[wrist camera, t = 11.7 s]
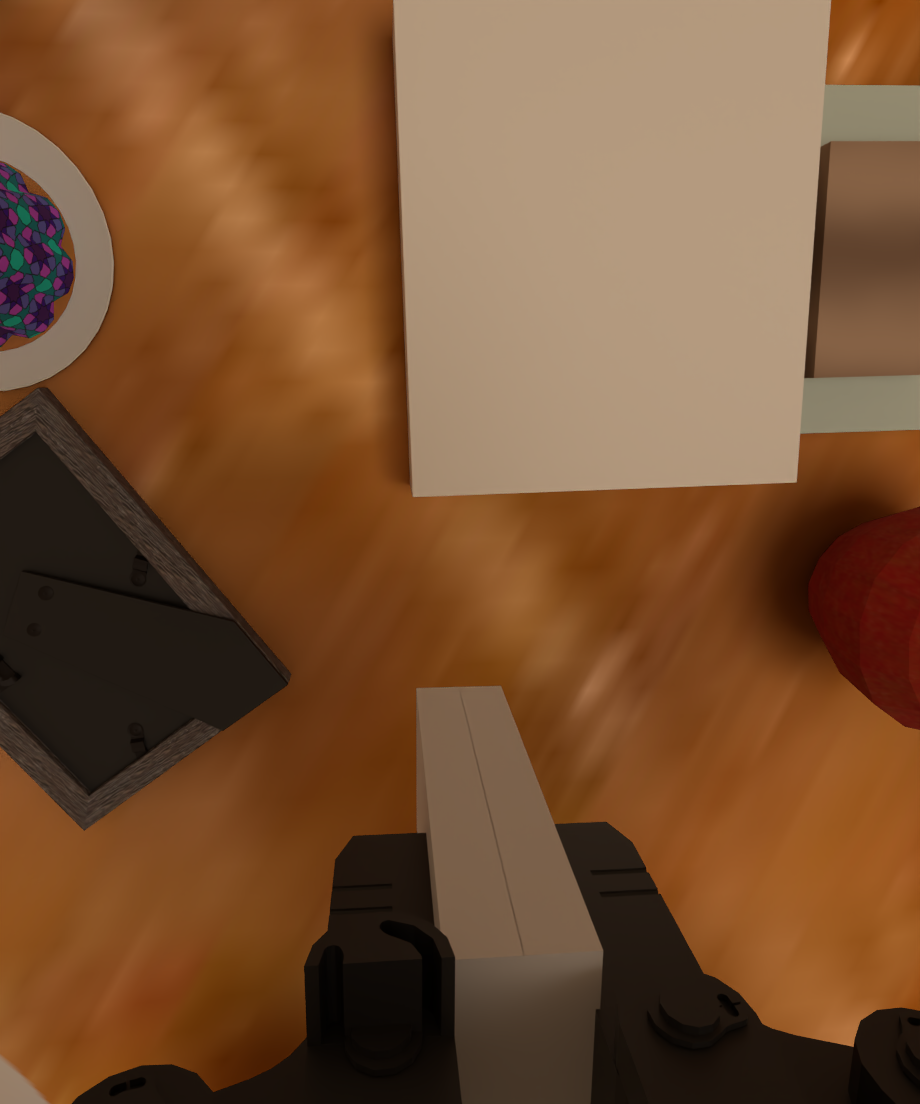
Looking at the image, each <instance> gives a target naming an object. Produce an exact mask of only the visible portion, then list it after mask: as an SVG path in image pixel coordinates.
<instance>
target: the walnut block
mask: <svg viewBox="0 0 920 1104" xmlns="http://www.w3.org/2000/svg"><path fill="white" fill-rule="evenodd" d="M900 375H920V141H830V142H829V143H827V144H825V145H823V146H821V147H820V161H819V175H818V189H817V203H816V217H815V231H814V245H813V259H812V274H811V288H810V302H809V316H808V330H807V344H806V358H805V372H804V378H831V377H865V376H900Z"/></svg>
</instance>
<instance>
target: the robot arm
mask: <svg viewBox="0 0 920 1104" xmlns="http://www.w3.org/2000/svg"><path fill="white" fill-rule="evenodd" d="M416 732H417V833H407V834H385V835H363V836H353V837H352V838H351V840H350V841H349V842H348V844H347V845H346V846H345V848H344V849H343V850H342V852H341V853H340V854H339V855H338V857H337V858H336V859H335V868H334V877H333V889H332V896H331V905H330V915H329V923H328V931H327V932H326V933H325V934H324V935H323V936H322V937H321V938H320V939H319V940H318V941H317V942H316V943H315V944H314V945H313V946H312V948H311V951H310V953H309V956H308V958H307V961H306V963H305V966H304V973H305V999H306V1025H307V1037H306V1039H305V1040H304V1041H303V1042H302V1043H301V1044H300V1045H299V1047H298V1048H297V1049H296V1050H295V1051H294V1052H293V1053H292V1054H291V1055H290V1056H289V1057H287V1058H286V1059H284V1060H283V1061H282V1062H280V1063H279V1064H277V1065H276V1066H275V1067H273V1068H272V1069H270V1070H268V1071H266V1072H264V1073H261V1074H259V1075H257V1076H255V1077H253V1078H251V1079H249V1080H246V1081H243V1082H240V1083H238V1084H235V1085H232V1086H229V1087H227V1088H224V1089H221V1090H218V1091H216V1092H212V1090H211V1089H210V1088H209V1087H208V1086H207V1085H206V1084H205V1082H204V1081H203V1080H202V1079H201V1078H200V1077H199V1076H198V1074H197V1073H194V1072H191V1071H189V1070H186V1069H183V1068H180V1067H178V1066H175V1065H172V1064H171V1065H145V1066H139V1067H136V1068H133V1069H130V1070H127V1071H124V1072H121V1073H118V1074H116V1075H113V1076H110V1077H108V1078H106V1079H105V1080H103V1081H102V1082H100V1083H99V1084H97V1085H95V1086H94V1087H92V1088H91V1089H89V1090H88V1091H86V1092H85V1093H83V1094H82V1095H80V1096H78V1097H77V1098H76V1099H75V1101H74V1102H73V1103H72V1104H920V1011H917V1010H912V1009H907V1008H893V1009H883V1010H876V1011H875V1012H873V1013H872V1014H870V1015H869V1016H867V1017H866V1018H864V1019H863V1020H861V1021H860V1024H859V1027H858V1030H857V1034H856V1037H855V1041H854V1047H851V1046H846V1045H841V1044H836V1043H831V1042H826V1041H821V1040H816V1039H811V1038H806V1037H801V1036H796V1035H792V1034H789V1033H785V1032H782V1031H778V1030H775V1029H772V1028H770V1027H767V1026H765V1025H763V1024H762V1023H761V1021H760V1019H759V1018H758V1016H757V1014H756V1013H755V1012H754V1011H753V1009H752V1008H751V1007H750V1006H749V1005H748V1003H747V1002H746V1001H745V1000H744V999H743V997H742V996H741V995H740V994H739V993H738V992H736V991H735V990H733V989H732V988H730V987H729V986H727V985H726V984H724V983H723V982H721V981H720V980H718V979H717V978H715V977H712V976H709V975H706V974H704V973H703V972H702V970H701V968H700V966H699V964H698V962H697V960H696V959H695V957H694V955H693V953H692V951H691V949H690V948H689V946H688V944H687V942H686V940H685V938H684V937H683V935H682V933H681V931H680V929H679V927H678V926H677V924H676V922H675V920H674V918H673V916H672V914H671V913H670V911H669V909H668V907H667V905H666V903H665V902H664V900H663V898H662V896H661V894H658V890H657V887H656V885H655V883H654V881H653V880H652V878H651V876H650V874H649V873H647V872H646V867H645V865H644V863H643V861H642V859H641V857H640V856H639V854H638V852H637V850H636V848H635V846H634V845H633V843H632V842H631V841H630V840H629V839H627V838H626V837H625V836H624V835H622V834H621V833H620V832H619V831H617V830H616V829H615V828H614V827H612V826H611V825H610V824H608V823H607V822H591V823H569V824H554V822H553V819H552V817H551V814H550V812H549V809H548V806H547V804H546V801H545V799H544V796H543V793H542V791H541V788H540V786H539V783H538V781H537V778H536V775H535V773H534V770H533V768H532V765H531V762H530V760H529V757H528V755H527V752H526V749H525V747H524V744H523V742H522V739H521V737H520V734H519V731H518V729H517V726H516V724H515V721H514V718H513V716H512V713H511V711H510V708H509V706H508V703H507V700H506V698H505V695H504V693H503V690H502V687H501V686H477V687H441V688H416Z"/></svg>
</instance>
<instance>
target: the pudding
mask: <svg viewBox="0 0 920 1104" xmlns="http://www.w3.org/2000/svg"><path fill="white" fill-rule="evenodd" d="M0 161H3V162H6V163H8V164H10V165H11V166H13V167H15V168H17V169H19V170H21V171H22V172H24V173H25V174H26V175H28V176H29V177H30V178H31V179H33V180H34V181H35V182H37V183H38V184H39V185H40V186H41V187H42V189H43V190H44V191H45V192H46V193H47V194H48V195H49V196H50V197H51V199H52V200H53V201H54V203H55V204H56V206H57V207H58V208H59V210H60V211H61V213H62V215H63V218H64V220H65V222H66V224H67V226H68V228H69V231H70V234H71V237H72V241H73V244H74V250H75V258H76V277H75V283H74V287H73V292H72V296H71V298H70V300H69V303H68V305H67V307H66V309H65V311H64V312H63V314H62V315H61V317H60V318H59V320H58V321H57V323H56V324H55V325H54V326H53V327H52V328H51V329H50V330H49V331H48V332H47V333H45V334H44V335H42V336H41V337H39V338H38V339H36V340H35V341H33V342H31V343H29V344H27V345H24V346H22V347H19V348H16V349H11V350H7V351H2V352H0V391H7V390H12V389H17V388H22V387H27V386H30V385H33V384H35V383H38V382H40V381H43V380H45V379H48V378H50V377H52V376H53V375H55V374H56V373H58V372H59V371H61V370H62V369H64V368H66V367H67V366H69V365H70V364H71V363H72V362H73V361H74V360H75V359H76V358H77V357H78V356H79V355H80V354H81V353H82V352H83V351H84V350H85V349H86V348H87V346H88V345H89V344H90V342H91V341H92V339H93V338H94V336H95V335H96V333H97V332H98V330H99V328H100V326H101V323H102V321H103V319H104V317H105V314H106V312H107V310H108V305H109V301H110V297H111V292H112V288H113V272H114V259H113V251H112V243H111V237H110V233H109V230H108V227H107V223H106V220H105V217H104V213H103V211H102V209H101V207H100V205H99V203H98V201H97V199H96V197H95V194H94V192H93V190H92V189H91V187H90V186H89V184H88V183H87V181H86V180H85V178H84V177H83V175H82V174H81V173H80V171H79V170H78V168H77V167H76V166H75V165H74V164H73V163H72V162H71V160H70V159H69V158H68V157H67V156H66V155H65V154H64V153H63V152H62V151H61V150H60V149H59V148H58V147H57V146H56V145H54V144H53V143H52V142H51V141H49V140H48V139H47V138H46V137H44V136H43V135H42V134H40V133H39V132H38V131H36V130H35V129H33V128H31V127H29V126H28V125H26V124H24V123H22V122H20V121H19V120H17V119H15V118H13V117H10V116H8V115H5V114H2V113H0ZM64 230H65V227H64V224H63V221H62V219H61V216H60V213H59V211H58V210H57V209H56V208H55V207H54V205H53V204H52V203H51V202H50V201H49V200H48V198H45V197H42V196H39V195H35V194H32V193H29V192H28V190H27V188H26V185H25V183H24V181H23V179H22V177H21V174H19V173H18V172H17V171H15V170H14V169H12V168H11V167H9V166H8V165H6V164H4V163H0V347H1V346H2V345H3V344H4V343H5V342H6V341H7V340H8V339H9V338H10V337H11V336H12V335H16V336H22V337H27V338H32V337H34V336H36V335H38V334H40V333H42V332H44V331H45V330H46V328H47V327H48V326H49V325H50V323H51V322H52V321H53V319H54V301H55V300H57V299H58V298H60V297H62V296H63V295H65V294H67V293H68V292H69V289H70V286H71V284H72V281H73V278H74V276H73V264H72V260H71V259H70V258H69V256H68V255H67V254H66V252H65V251H64V250H63V248H62V247H61V242H62V238H63V234H64Z"/></svg>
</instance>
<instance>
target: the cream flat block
mask: <svg viewBox="0 0 920 1104" xmlns="http://www.w3.org/2000/svg"><path fill="white" fill-rule="evenodd" d="M830 7H831V0H393V34H392V38H393V63H394V88H395V114H396V139H397V164H398V190H399V215H400V240H401V266H402V291H403V316H404V342H405V367H406V393H407V418H408V443H409V469H410V487H411V491H412V496H413V497H429V496H455V495H481V494H507V493H533V492H559V491H585V490H611V489H637V488H663V487H689V486H715V485H741V484H767V483H793V482H797V470H798V456H799V442H800V428H801V414H802V400H803V386H804V372H805V358H806V344H807V330H808V316H809V302H810V288H811V274H812V259H813V245H814V231H815V217H816V203H817V189H818V175H819V161H820V147H821V133H822V119H823V105H824V91H825V77H826V63H827V49H828V35H829V21H830Z"/></svg>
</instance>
